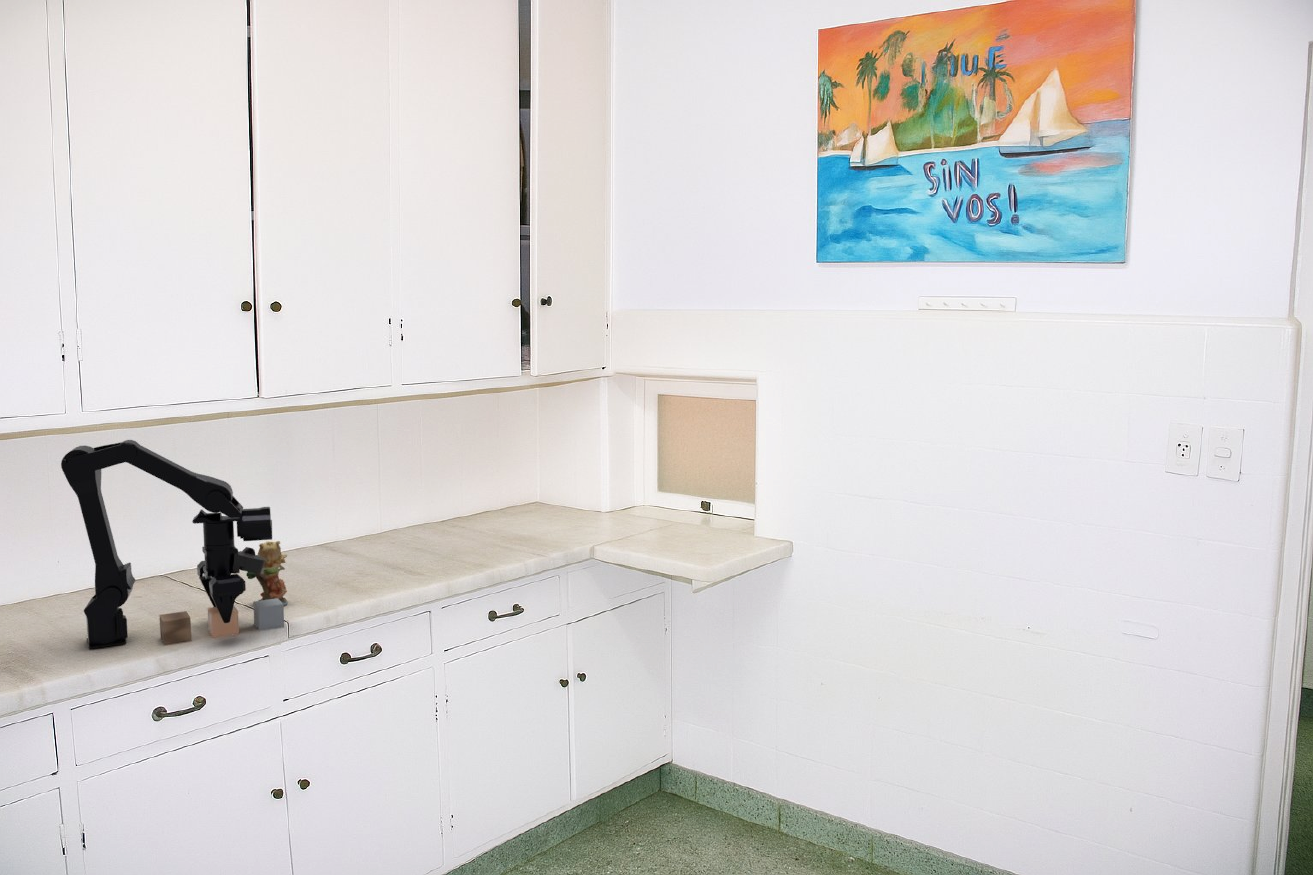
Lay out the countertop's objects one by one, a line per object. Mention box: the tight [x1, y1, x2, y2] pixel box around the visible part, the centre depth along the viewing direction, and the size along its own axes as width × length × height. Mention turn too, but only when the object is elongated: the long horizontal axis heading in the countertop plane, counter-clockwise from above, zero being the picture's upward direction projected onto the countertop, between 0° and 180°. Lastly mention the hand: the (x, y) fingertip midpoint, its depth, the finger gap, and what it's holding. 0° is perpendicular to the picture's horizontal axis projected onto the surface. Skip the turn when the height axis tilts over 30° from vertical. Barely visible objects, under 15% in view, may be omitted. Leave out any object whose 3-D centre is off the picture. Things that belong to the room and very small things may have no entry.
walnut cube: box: [158, 610, 192, 646], centre depth 206 cm, size 5×5×5 cm
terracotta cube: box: [206, 605, 240, 639], centre depth 210 cm, size 5×5×5 cm
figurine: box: [246, 540, 288, 606], centre depth 229 cm, size 9×8×15 cm
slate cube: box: [252, 598, 285, 631], centre depth 215 cm, size 5×5×5 cm
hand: (222, 616), depth 210 cm, fingers open, 9 cm apart
